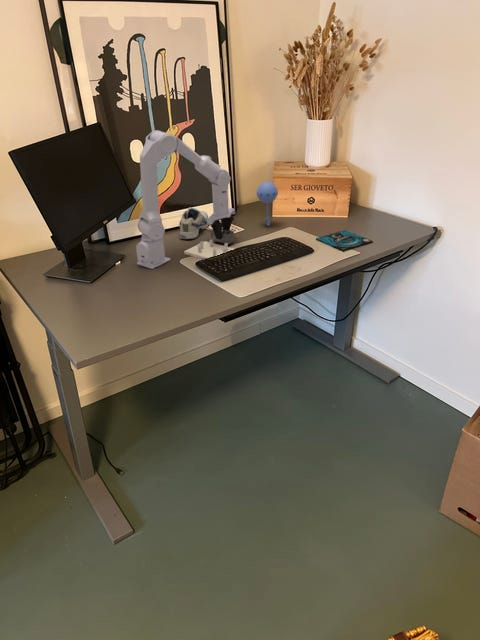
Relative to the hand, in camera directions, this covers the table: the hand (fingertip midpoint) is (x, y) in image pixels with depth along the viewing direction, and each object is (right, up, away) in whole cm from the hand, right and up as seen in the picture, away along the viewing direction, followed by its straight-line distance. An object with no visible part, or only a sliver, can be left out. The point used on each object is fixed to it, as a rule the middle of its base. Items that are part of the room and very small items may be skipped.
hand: (222, 237), depth 185 cm
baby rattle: (+18, +8, +18) cm, 27 cm away
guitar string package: (+46, -2, 0) cm, 47 cm away
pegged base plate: (-4, -7, -6) cm, 10 cm away
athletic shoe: (-12, +5, +15) cm, 20 cm away
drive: (0, -1, +1) cm, 2 cm away
